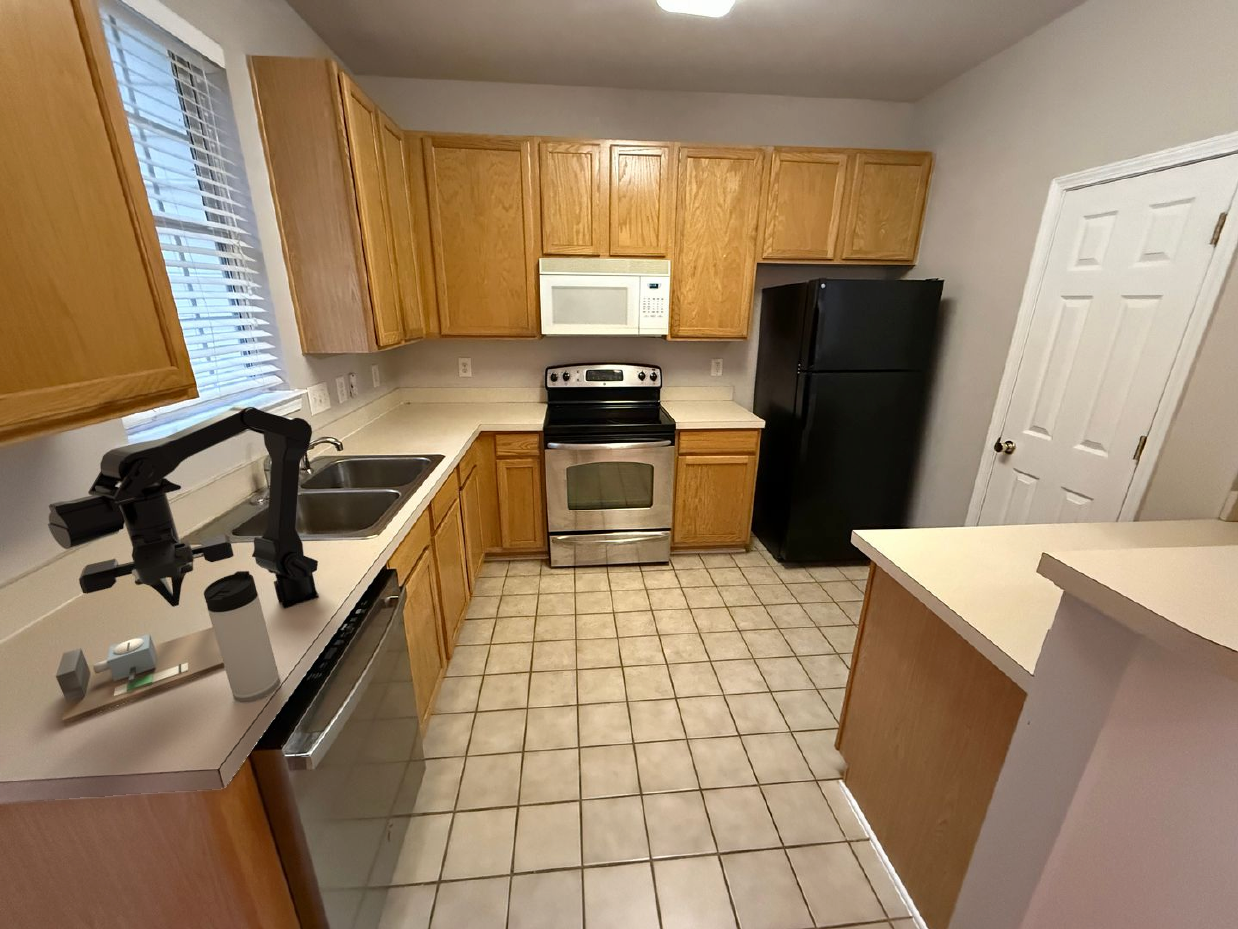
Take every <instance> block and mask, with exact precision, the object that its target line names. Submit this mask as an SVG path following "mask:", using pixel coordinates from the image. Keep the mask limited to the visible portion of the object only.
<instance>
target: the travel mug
mask: <svg viewBox="0 0 1238 929" xmlns="http://www.w3.org/2000/svg"><path fill="white" fill-rule="evenodd" d="M257 590H258V589H257V586H256V583H255V578H254V576H253V575H252V574H251V573H250V571H249V570H238V571H236V572H234V573H233V574H229V575H227V576H224V577H221V578H218V579H217V580H215V581H213V582H212V583H210V584H209V585H208V586H207V587H205V589H204V591H203V597H204V600H205V603H206V606H207V612H208V616H209V619H210V622H211V625H212V627H213V629H214V633H215V636H216V640H217V643H218V646H219V650H220V653H221V657H222V660H223V663H224V670H225V673H226V676H227V680H228V684H229V687H230V691H231V694H232V697H233V699H234V700H235V701H236V702H238V703H241V704H242V703H243V704H247V703H251V702H257V701H259V700H262V699H264V698H265V697H267V696H269V695H271V694H272V693H273V692H274V691H275V690H276V689H277V688H278V687H279V685H280V683H281V678H280V674H279V671H278V667H277V666H278V665H277V663H276V659H275V656H274V651H273V648H272V644H271V638H270V635H269V631H268V628H267V625H266V620H265V616H264V612H263V608H262V605H261V601H260V597H259V593H258V591H257Z"/></svg>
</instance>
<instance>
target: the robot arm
mask: <svg viewBox="0 0 1238 929" xmlns="http://www.w3.org/2000/svg"><path fill="white" fill-rule="evenodd" d="M248 430H249V431H251V432H254V433H257V434H261V435H263V441H264V446H265V448H266V451H267V452H268V455H269V457H270V460H271V463H270V464H271V465H270V467H271V468H270V479H269V482H270V483H269V496H268V499H269V500H268V512H267V513H268V515H267V528H266V530H265V531H264V533H263V535H262V536H261V537H257V536H256V537H254V538H253V548H254V549H253V553H252V554H251V557H253V558H254V559H255V563H256V565H257V566H259V567H260V568H261V569H265V570H267V572H269V574H270V573H271V574H274V576H275V580H274V581H273V586H274V590H275V594H276V598H277V601H278V603H279V604H281V605H282V607H283V609H286V608H291V607H294V606H296V605H299V604H303V603H306V602H308V601H312V600H315V599H318V598H320V595H319V593H318V591H317V588H316V583H315V579H314V575H313V574H314V572H316V571H318V566H319V564H318V563H319V561H318V560H316V559H314V558H311V557H308V556H307V555H305V554H304V552H305V551H304V544H303V541H302V539H301V536H300V535H299V533H298V531H297V516H298V515H297V514H298V502H299V501H298V499H299V488H300V487H299V484H300V483H299V482H300V470H301V469H300V468H301V460H302V459H303V458H304V457H305V455H306V453H307V452H308V450H309V449H310V444H311V441H312V437H313V436H312V435H313V427H312V425H311V424H309V422H308V421H307V420H305V419H304V418H300V417H295V416H294V417H293V416H287V415H277V414H273V413H270V412H267V411H264V410H260V409H258V408H257V407H254V406H245V405H235V406H233V407H231V408H229V409H228V410H226V411H224V412H221V413H218V414H217V415H214V416H212V417H210V418H207V419H205V420H203V421H200V422H198V423H195V424H193V425H190V426H188V427H186V428H184V429H182V430H179V431H177V432H174V433H172V434H170V435H167V436H165V437H161V438H158V439H152V440H145V441H140V442H136V443H131V444H128V445H124V446H120V447H116V448H112V449H110V450H109V451H107V452H106V453H105V454H104V455H103V456H102V459H101V461H100V463H99V464H100V465H99V466H100V468H99V469H100V471H99V473H98V474H97V477H96V478H95V480H94V482H93V484H92V485H91V487H90V489H89V491H88V492H87V493H88V495H89V496H84V497H80V498H76V499H71V500H65V501H57V502H54V503H50V504H49V505H48V508H49V510H50V512H49V514H48V522H49V523H48V524H47V525H48V530H49V532H50V533H51V536H52V537H53V539H54V540H55V541H56V543H58V545H60V547H62V549H65V550H69V549H73V548H76V547H80V546H82V545H83V546H84V545H85V544H88V543H92V542H95V541H98V540H102V539H106V538H108V537H111V536H115V535H117V534H119V532H120V530H124V528H126V531H127V534H128V537H129V540H130V543H131V544H130V545H131V546H132V552H131V557H132V561H130V562H125V563H121V564H119V561H118V560H117V558H112V559H108V560H103V561H99V562H94V563H89V564H87V565H86V566H84V568H82V571H81V573H80V576H79V578H78V580H79V581H78V582H79V586H80V588H81V592H82V594H91V593H96V592H100V591H105V590H108V589H112V587H113V586H114V585H115V584H116V583H117V578H121V577H123V576H124V577H125V576H129V575H132V576H133V577H134V584H135V585H136V586H140V585H146V586H149V587H151V588H152V589H153V590H155V591H156V592H157V593H158V594H160V596H161V597H162V598H163V600H166V602H167V603H168V604H169V605H170V606H171V607H173V608H175V607H178V606H179V605H180V600H181V599H180V598H181V591H182V585H183V581H184V579H185V576H186V574H188V573H191V572H193V570H194V562H195V560H194V559H199V558H202V557H203V558H204V560H205V561H207V562H209V563H215V562H219V561H223V560H227V559H230V558H233V557H234V551H233V547H232V546H233V545H232V543H231V539H230V536H229V535H227V534H225V533H223V534H218V535H215V536H209V537H206V538H202V539H200V543H201V544H200V545H199V546H195V547H191V544H190V542H189V541H187V540H186V541H184V542H181V540H180V537H179V533H178V530H177V527H176V523H175V521H174V520H175V519H174V517H173V513H172V509H171V506H170V502H169V499H168V496H167V493H171V492H176V491H180V490H181V489H182V485H180V484H177V483H174V482H172V481H170V480H168V479H167V478H166V477H168V476H169V475H170V474H171V473H173V472H174V471H175V470H176V469H177V468H178V467H179V465H180V464H181V463H182V462H184V461H185V460H187V459H189V458H190V457H193V456H194V455H197V454H199V453H201V452H203V451H205V450H208V449H209V448H212V447H214V446H216V445H217V444H220V443H222V442H225V441H227V440H228V439H230V438H231V439H232V438H233V437H235V436H237V435H239V434H241V433H243V432H245V431H248ZM118 484H120V485H119V486H117V485H118ZM167 578H170V579H171V580H170V581H171V586H172V589H171V587H170V585H169V583H168V581H167Z"/></svg>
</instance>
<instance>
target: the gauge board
mask: <svg viewBox="0 0 1238 929" xmlns="http://www.w3.org/2000/svg"><path fill="white" fill-rule="evenodd" d="M154 647H155V650H156V667H155V668H153V669H150V670H147V671H144V672H141V673H138V674H136V675H135V681H134V682H131V683H129V677H126V678H123V679H120V680H117V681H114V679H113V676H112V673H111V671H110V669H109V670H106V671H103V672H100V673H97V674H96V673H95V671H94V667H93V665H94V664H92V665H90V666H89V665H88V662H87V660H86V657H85V655H84V652H83V650H82V648H81V647H80V648H77V649H73V650H69V651H67V652H64V653H62V656H61V659H60V662H59V665H58V669H57V671H56V674H55V678H56V681H57V682H58V685H59V687H60V689H61V693H62V694H63V697H64V699H65V701H66V704H65V708H64V712H63V715H62V719H61V721H62V723H63V726H66V725H68V724H71V723H75V722H77V721H79V720H80V721H81V720H82V719H85V718H89V717H91V716H94V715H96V713H97V714H99V713H98V712H100V711H102V712H105V711H107V709H108V710H110V709H109V708H111V709H113V708H116V707H118V706H117V705H119V706H121V704H122V705H124V704H126V702H127V703H130V702H132V701H131V700H133V701H135V700H134V699H136V700H138V699H140V698H144V697H146V696H149V695H151V693H152V694H154V693H157V692H160V691H163V690H167V689H168V688H167V687H169V688H171V687H174V686H177V685H179V684H182V683H185V682H187V681H190V680H193V679H196V678H198V677H201V676H204V675H207V674H210V673H213V672H216V671H218V670H220V669H221V670H222V669H223V668H224V669H225V667H224V663H223V660H222V657H221V653H220V650H219V646H218V643H217V640H216V636H215V633H214V629H213V626H212V627H209V628H205V629H202V630H199V631H196V632H193V633H190V634H186V635H183V636H180V637H177V638H174V639H171V640H168V641H164V642H162V643H159V644H158V643H157V644H156V645H154ZM162 689H163V690H162ZM148 694H149V695H148ZM143 696H144V697H143ZM129 701H130V702H129ZM123 703H124V704H123ZM115 706H116V707H115ZM112 707H113V708H112ZM100 713H101V712H100ZM93 714H94V715H93Z"/></svg>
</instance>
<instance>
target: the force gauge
mask: <svg viewBox="0 0 1238 929" xmlns="http://www.w3.org/2000/svg"><path fill="white" fill-rule="evenodd" d="M154 646H155V645H154V643H153V638H152V636H151V633H148V634H145V635H142V636H138V637H135V638H132V639H131V638H130V639H129V640H126V641H122V642H118V643H115V644H112V645H109V649H108V652H107V653H108V654H107V658H106V659H105V660H102V661H100V662H97V663H94V664H92V665H93V667H94V671H95V673H96V674H97V673H100V672H103V671H106V670H109V669H110V671H111V673H112V676H113V679H114V681H117V680H120V679H123V678H126V677H129V683H131V682H134V681H135V675H136V674H138V673H141V672H144V671H147V670H150V669H153V668H155V667H156V650H155V647H154Z"/></svg>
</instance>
